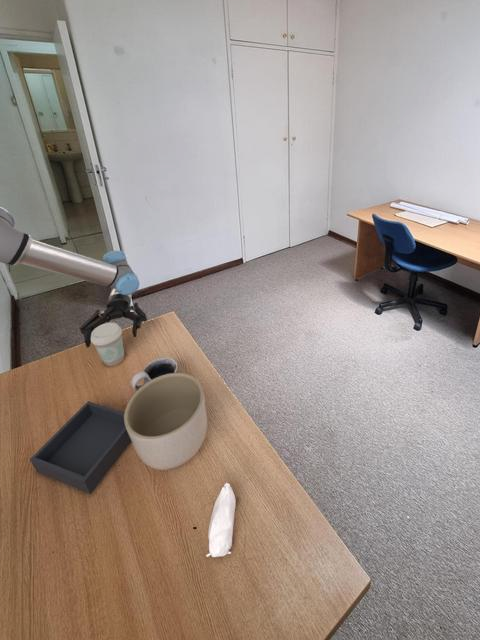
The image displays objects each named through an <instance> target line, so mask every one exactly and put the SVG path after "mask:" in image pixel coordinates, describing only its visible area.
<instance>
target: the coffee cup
mask: <svg viewBox="0 0 480 640" xmlns="http://www.w3.org/2000/svg"><path fill="white" fill-rule="evenodd" d="M122 333H123V329H122V328H121V326H120V325H119V324H118V323H116V322H106V323H104V324H102V325H100V326H98V327H97V328H95V329H94V330H93V331H92V333H91V344H92V345H94V347H95V349H96V351H97V353H98V354H99V356H100V358H101V360H102V361H103V363H104V365H105V366H108V367H113V366H117V365H119V364H120V363H121V362H123V361H124V359H125V348H124V344H123V343H124V342H123V335H122Z"/></svg>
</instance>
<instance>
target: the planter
mask: <svg viewBox="0 0 480 640" xmlns="http://www.w3.org/2000/svg"><path fill="white" fill-rule="evenodd" d="M142 385H143V384H142ZM206 405H207V404H206V398H205V392H204V388H203V385H202V383H201V382H200V380H198V378H196V377H195V376H193V375H191V374H188V373H184V372H178V373H170V374H165V375H162V376H159V377H157V378H155V379H153V380H151V381H149V382H147V383H146V384H145V385H143V386H142V387H141V388H140V389H138V390H137V391H136V390H135V392H134V393H133V395H132V396H131V397H130V399H129V400H128V402H127V404H126V406H125V409H124V423H125V426H126V429H127V432H128V434H129V436H130V439H131V443H132V445H133V448H134V450H135V452H136V454H137V456H138V457H139V459H140V460H141V462H142V463H144V464H145V465H146V466H147V467H149V468H151V469H153V470H158V471H166V470H167V471H169V470H173V469H176V468H178V467H181V466H183V465H184V464H187V462H189V461H190V460H191V459H193V457H194V456H195V455H196V454H197V453H198V452H199V450H200V449H201V447H202V446H203V443H204V442H205V439H206V435H207V432H208V411H207V406H206Z"/></svg>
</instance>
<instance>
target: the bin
mask: <svg viewBox="0 0 480 640" xmlns="http://www.w3.org/2000/svg"><path fill="white" fill-rule="evenodd" d="M124 413H125V411H121V410H118V409H116V408H115V409H114V408H111V407H108V406H105V405H102V404H99V403H95V402H92V401H89V400H88V401H86V402H85V403H84V404H83V405H82V407H80V409H79V410H78V411H77V412H75V413H74V415H73V416H72V417H70V419H68V420H67V422H65V424H63V425H62V427H60V428H59V430H57V431H56V432H55V434H54V435H53V436H52V437H50V438H49V439H48V440H47V441H46V442H45V443H44V445H43V446H41V447H40V448H39V449H38V450H37V452H35V454H33V455H32V456H31V458H29V461H30V464H31V465H32V466H33V469H34V470H35V471H36V473H38V474H41V475H43V476H45V477H48V478H50V479H52V480H55V481H57V482H60V483H63V484H65V485H67V486H70V487H72V488H74V489H77V490H80V491H82V492H84V493H86V494H88V495H89V494H90V495H91V494H92V493H93V492H94V491H95V489H96V488H97V486H98V485H99V484H100V482H101V481H102V480H103V479H104V477H105V476H106V475H107V473H108V472H109V471H110V470H111V468H112V467H113V466H114V465H115V463H116V462H117V461H118V459H119V458H120V456H121V455H122V454H123V452H124V451H125V450H126V449H127V448H128V446H129V445H130V443H132V441H131V439H130V436H129V434H128V432H127V429H126V426H125V423H124Z"/></svg>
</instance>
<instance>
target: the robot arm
mask: <svg viewBox="0 0 480 640" xmlns="http://www.w3.org/2000/svg"><path fill="white" fill-rule="evenodd" d="M102 260H103V261H102ZM102 260H98V259H95V258H92V257H89V256H85V255H83V254H80V253H76V252H74V251H70V250H67V249H64V248H60V247H57V246H54V245H51V244H47V243H45V242H41V241H39V240H35V239H33V238H32V236H31V234H28V233H25V232H22V231H20V230H18V229H17V228H15V220H14V217H13V216H12V214H11V213H10V212H9V210H7V209H6V208H4V207H3V206H1V205H0V263H1V264H6V265H11V266H16V265H25V266H29V267H31V268H35V269H39V270H44V271H47V272H51V273H55V274H59V275H62V276H66V277H70V278H73V279H78V280H82V281H85V282H90V283H93V284H96V285H100V286H103V287H108V288H111V289H110V293H109V296H108V300H107V304H106V308H105V309H104V310H101V311H100V309H97V310H95V311H94V313H93V314H92V315H91V316H90V317H89V318H88V319H87V320H86V321H85V322H84V323H82V325H81V326H80V327H79V331H80V333H81V335H83V338H84V341H83V342H84V344H85V346H86V348H87V349H88V348H90V347H91V344H92V342H91V333H92V331H93V330H94V329H95V328H97V327H98V326H100V325H102V324H105V323H110V322H111V321H112V320H116V319H122V318H125V319H129V320H130V321H132V329H131V333H132V337H133V338H137V335H138V330H139V329H141V327H142V322H147V321H148V318H147V314H146V313H145V312H144V311H143V309H141V308H140V307H139V303H138V302H135V303H134V304H132V305H131V302H132V297H133V294H134V293H136V292H137V291H138V290H139V288H140V280H139V278H138V276H137V274H136V273H135V272H134V270H133V269H132V268H131V266H130V265H129V263H128V261H127V257H126V254H125V252H124V251H123V250H112V251H108V252H106V253H105V254H104V255H103V256H102ZM134 312H135V313H134Z"/></svg>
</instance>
